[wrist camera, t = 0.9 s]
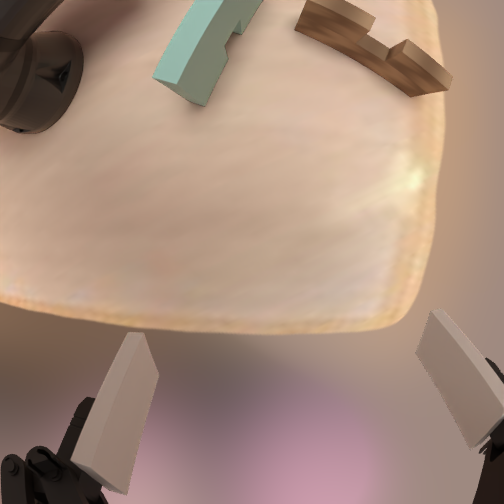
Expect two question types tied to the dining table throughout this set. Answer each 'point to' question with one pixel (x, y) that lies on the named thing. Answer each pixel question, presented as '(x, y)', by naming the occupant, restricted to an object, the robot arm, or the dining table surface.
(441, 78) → the walnut plate
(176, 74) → the sage plate
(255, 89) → the dining table surface
